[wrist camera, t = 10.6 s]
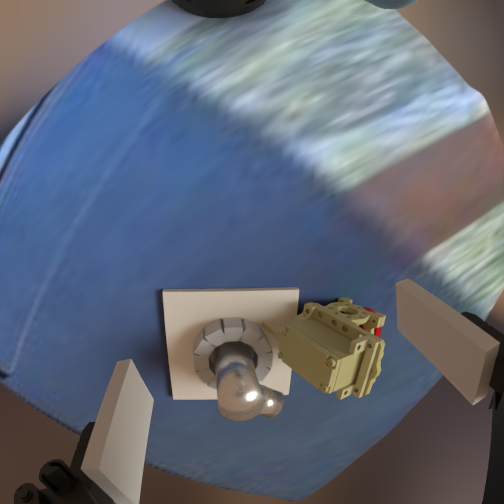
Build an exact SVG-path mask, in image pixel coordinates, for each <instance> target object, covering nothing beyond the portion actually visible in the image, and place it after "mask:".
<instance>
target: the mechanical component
mask: <svg viewBox="0 0 504 504" xmlns="http://www.w3.org/2000/svg"><path fill="white" fill-rule="evenodd" d="M339 311H343V312H344V314H343V313H341V312H339ZM385 317H386V315H383V314H381V313H379V312H376V313H375V312H374V311H373V310H372V309H369V308H366V307H363V308H362V307H360V306H358V305H355V304H352V300H351V299H349V298H338V302H335V303H329V304H328V305H327V306H322V305H320V304H318V303H313V302H309V303H306V304H304V310H303V312H302V313H301V314H299V315H297V316H296V317H295V318H294V320H293V322H292V324H287V325H284V328H282V330H281V332H282V333H280V332H278V331H275V330H274V329H272V328H271V327H269V326H268V325H267V324H265V323H264V322H262V327H263V328H265V329H266V330H267V331H269V332H270V333H271V334H273V335H274V337H275V338H276V339H277V340H278V341H279V347H278V350H279V351H280V352H279V353H278V358H279V359H282V362H284V363H285V364H286V365H287V366H289V367H290V368H291V369H293V370H294V371H295V372H296V373H298V374H299V375H300V376H301V377H303V378H304V379H305V380H307V381H308V382H309V383H310V384H312V385H313V386H314V387H316V388H317V389H318V390H321V391H322V392H323V393H325V392H326V393H328V394H329V393H332V392H334V391H336V390H338V392H337V395H336V397H337V398H339V399H340V400H341V399H343V398H345V397H347V396H349V395H351V394H353V395H355V396H356V397H358V398H360V397H362V396H364V395H367V394H369V393H370V390H371V387H372V384H373V383H374V382H375V380H376V378H375V377H377V376H379V374H380V372H381V366H380V364H381V358H383V355H384V353H383V350H384V346H385V343H384V341H383V339H381V338H379V337H380V333H381V326H383V325H384V321H385Z"/></svg>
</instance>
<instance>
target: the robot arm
mask: <svg viewBox="0 0 504 504" xmlns="http://www.w3.org/2000/svg"><path fill="white" fill-rule="evenodd" d="M173 1H174V2H175V3H176V4H177V5H178V6H179V7H181V8H182V9H184V10H186V11H188V12H190V13H193V14H196V15H200V16H204V17H212V18H226V17H234V16H239V15H242V14H245V13H248V12H250V11H253V10H254V9H256V8H258V7H259V6H261V5H262V4H263V3H264V2H265V1H266V0H173ZM365 1H367V2H369V3H371V4H373V5H375V6H377V7H379V8H383V9H399V8H403V7H406V6H408V5H410V4H412V3H414V2H416V1H418V0H365ZM396 298H397V329H398V330H399V331H400V332H401V333H402V334H403V335H404V336H405V337H406V338H407V339H408V340H409V341H410V342H411V343H412V344H413V345H414V346H415V347H416V348H417V349H418V350H419V351H420V352H421V353H422V354H423V355H424V356H425V357H426V358H427V359H428V360H429V361H430V362H431V363H432V364H433V365H434V366H435V367H436V368H437V369H438V370H439V371H440V372H441V373H442V374H443V375H444V376H445V377H446V378H447V379H448V380H449V381H450V382H451V383H452V384H453V385H454V386H455V387H456V388H457V389H458V390H459V391H460V392H461V393H462V394H463V396H464V397H465V398H466V399H467V400H468V401H469V402H470V403H471V404H472V405H474V404H476V403H477V402H479V401H480V400H482V399H483V398H485V397H486V395H487V392H488V389H489V386H491V387H492V388H493V389H494V393H493V396H492V400H491V403H490V406H489V409H491V407H492V405H493V415H492V433H491V446H490V457H489V464H488V472H487V479H486V485H485V491H484V496H483V501H482V504H504V334H502V333H501V332H499V331H498V330H497V329H495V328H494V327H492V326H491V325H490V326H489V324H488V323H487V322H485V321H483V320H482V319H481V318H479V317H478V316H476V315H475V314H471V313H468V312H463V313H461V314H460V313H458V312H457V311H456V310H454V309H453V308H451V307H450V306H448V305H447V304H445V303H444V302H443V301H441V300H440V299H438V298H437V297H435V296H434V295H432V294H431V293H429V292H428V291H426V290H425V289H423V288H422V287H420V286H419V285H417V284H416V283H414V282H413V281H411V280H410V279H405V280H402V281H400V282H397V283H396ZM153 402H154V400H153V398H152V396H151V394H150V393H149V391H148V389H147V387H146V385H145V384H144V382H143V380H142V378H141V376H140V374H139V373H138V371H137V369H136V367H135V365H134V363H133V361H132V359H127V360H122V361H118V362H117V364H116V367H115V369H114V372H113V375H112V377H111V380H110V383H109V385H108V388H107V391H106V394H105V396H104V399H103V402H102V405H101V408H100V410H99V413H98V416H97V419H96V422H89V423H88V424H87V426H86V427H85V428H84V430H83V431H82V434H81V436H80V441H79V442H78V445H77V449H76V451H75V454H74V457H73V460H72V463H71V466H70V468H69V467H68V466H67V465H66V464H65V463H64V462H63V461H62V460H59V459H58V460H52V461H49V462H47V463H46V464H45V465H44V466H43V467H42V468H41V470H40V473H39V480H40V481H41V482H42V483H43V484H44V485H45V486H46V487H47V489H42V490H39V489H38V488H37V487H36V486H35V485H34V484H31V483H25V484H23V485H21V486H20V487H19V488H18V489H17V490H16V492H15V495H14V504H113V501H114V502H115V503H117V504H139V499H140V490H141V481H142V474H143V466H144V459H145V452H146V445H147V439H148V432H149V426H150V420H151V414H152V408H153Z"/></svg>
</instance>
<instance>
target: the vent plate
mask: <svg viewBox="0 0 504 504" xmlns="http://www.w3.org/2000/svg"><path fill="white" fill-rule="evenodd" d="M298 298H299V289H298V287H281V288H236V289H163V305H164V318H165V329H166V340H167V350H168V359H169V368H170V377H171V385H172V392H173V399H186V400H192V399H218V398H217V386H216V373H215V360H214V348H215V347H217V346H219V345H221V344H223V343H225V342H227V341H241V342H243V343H246V344H248V345H249V348H250V352H251V356H252V359H253V363H254V367H255V370H256V374H257V378H258V382H259V384H261V385H264V386H267V387H269V388H272V389H275V390H277V391H280V392H282V393H283V395H288V394H289V387H290V379H291V370H292V369H291V368H290V367H289V366H287V365H286V364H285V363H284V362H282V359H279V358H278V353H279V352H280V351H279V350H278V347H279V341H278V340H277V339H276V338H275V337H274V335H273V334H271V333H270V332H269V331H267V330H266V329H265V328H263V327H262V322H264V323H265V324H267V325H268V326H269V327H271V328H272V329H274V330H275V331H278V332H280V333H282V332H281V330H282V328H284V325H287V324H292V322H293V320H294V318H295V317H296V316H297V310H298Z"/></svg>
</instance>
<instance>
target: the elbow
mask: <svg viewBox="0 0 504 504" xmlns="http://www.w3.org/2000/svg"><path fill="white" fill-rule="evenodd" d="M214 360H215V373H216V386H217V398H218V408H219V411H220V413H221V414H222V415H223V416H224V417H226V418H228V419H230V420H234V421H244V420H249V419H251V418H253V417H255V416H257V415H258V414H259V415H262V416H265V417H268V418H274V417H276V416H277V415H278V414H279V412H280V411H281V409H282V406H283V403H284V396H283V393H282V392H280V391H277V390H275V389H272V388H269V387H267V386H264V385H261V384H259V382H258V378H257V374H256V370H255V367H254V363H253V359H252V356H251V352H250V348H249V345H248V344H246V343H243V342H241V341H227V342H225V343H223V344H221V345H219V346H217V347H215V348H214Z"/></svg>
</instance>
